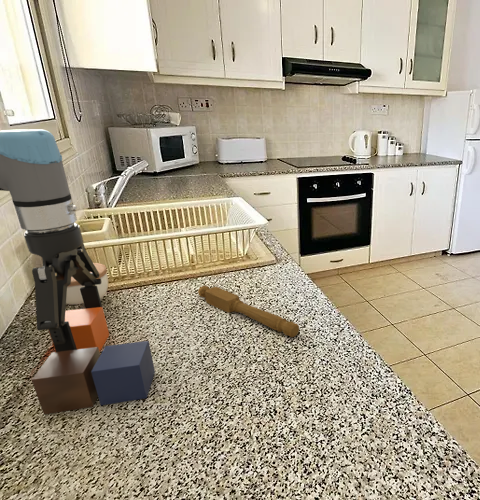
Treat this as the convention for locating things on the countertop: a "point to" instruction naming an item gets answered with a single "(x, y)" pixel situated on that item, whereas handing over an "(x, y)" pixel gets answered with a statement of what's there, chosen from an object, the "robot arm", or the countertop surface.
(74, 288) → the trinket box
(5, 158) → the robot arm
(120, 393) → the navy block
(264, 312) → the tap handle
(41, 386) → the walnut block
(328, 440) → the countertop surface
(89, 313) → the orange block
